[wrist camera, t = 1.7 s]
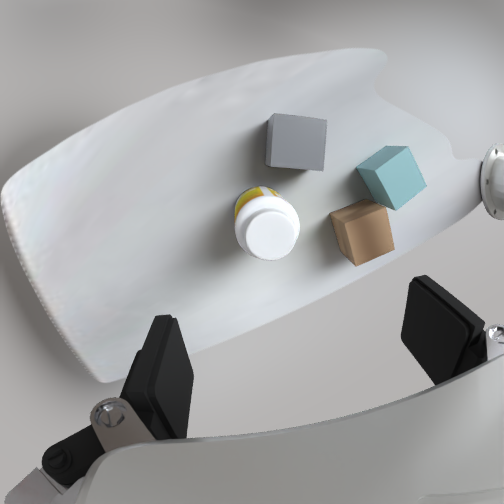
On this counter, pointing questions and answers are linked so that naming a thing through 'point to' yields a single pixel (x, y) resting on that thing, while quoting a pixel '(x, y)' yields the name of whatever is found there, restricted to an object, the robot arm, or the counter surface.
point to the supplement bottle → (265, 223)
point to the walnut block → (363, 231)
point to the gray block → (296, 142)
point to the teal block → (392, 176)
